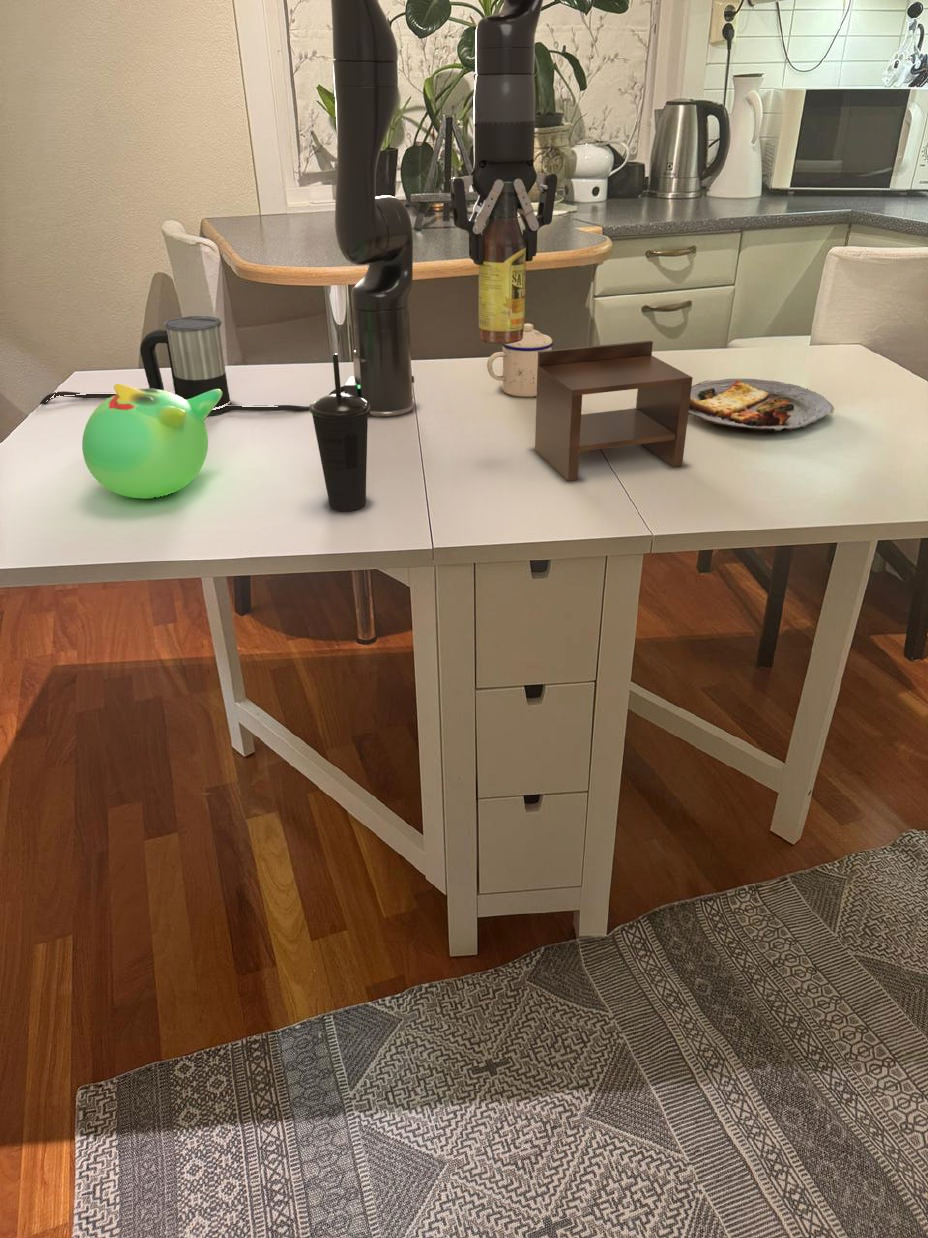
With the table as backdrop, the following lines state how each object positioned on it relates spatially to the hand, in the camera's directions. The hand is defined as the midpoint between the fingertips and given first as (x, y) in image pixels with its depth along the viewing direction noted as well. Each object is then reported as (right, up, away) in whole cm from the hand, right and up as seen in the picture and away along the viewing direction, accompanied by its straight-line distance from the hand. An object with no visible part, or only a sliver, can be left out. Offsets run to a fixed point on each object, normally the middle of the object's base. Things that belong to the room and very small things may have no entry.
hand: (502, 261), depth 120 cm
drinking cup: (-21, -32, +2) cm, 38 cm away
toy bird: (-47, -29, +7) cm, 56 cm away
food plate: (+43, -13, +32) cm, 55 cm away
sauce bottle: (0, -9, +5) cm, 10 cm away
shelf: (+16, -23, +16) cm, 32 cm away
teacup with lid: (+5, -6, +45) cm, 45 cm away
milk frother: (-51, -13, +35) cm, 63 cm away
